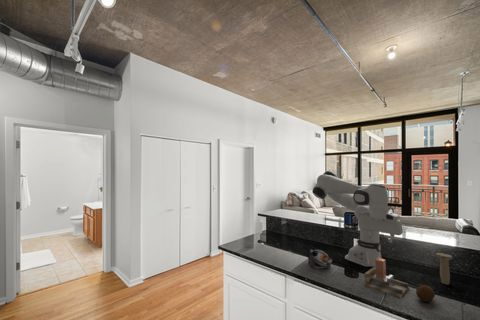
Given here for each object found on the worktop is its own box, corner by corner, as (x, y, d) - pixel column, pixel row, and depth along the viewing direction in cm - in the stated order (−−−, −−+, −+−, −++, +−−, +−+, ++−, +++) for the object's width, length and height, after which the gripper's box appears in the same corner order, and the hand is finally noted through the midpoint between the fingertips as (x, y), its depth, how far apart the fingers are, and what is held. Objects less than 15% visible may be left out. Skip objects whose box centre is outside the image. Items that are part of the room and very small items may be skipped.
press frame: (365, 285, 120) (364, 273, 120) (374, 277, 128) (374, 266, 128) (401, 297, 107) (400, 284, 108) (408, 288, 116) (408, 276, 116)
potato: (436, 298, 107) (435, 283, 108) (434, 308, 99) (433, 292, 99) (418, 292, 112) (417, 278, 112) (415, 302, 103) (414, 287, 104)
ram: (371, 282, 120) (370, 259, 121) (376, 278, 125) (375, 256, 125) (389, 288, 114) (388, 264, 114) (393, 283, 118) (392, 260, 119)
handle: (437, 279, 125) (436, 252, 126) (453, 284, 120) (452, 255, 121) (437, 282, 122) (435, 254, 123) (453, 287, 117) (451, 257, 118)
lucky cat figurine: (334, 265, 145) (337, 249, 139) (326, 278, 137) (329, 262, 131) (311, 253, 154) (313, 238, 148) (303, 265, 146) (305, 250, 140)
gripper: (356, 212, 128) (357, 237, 127) (399, 217, 112) (400, 246, 111) (361, 210, 132) (362, 235, 131) (403, 216, 116) (404, 243, 115)
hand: (380, 240), depth 121 cm, fingers open, 8 cm apart
